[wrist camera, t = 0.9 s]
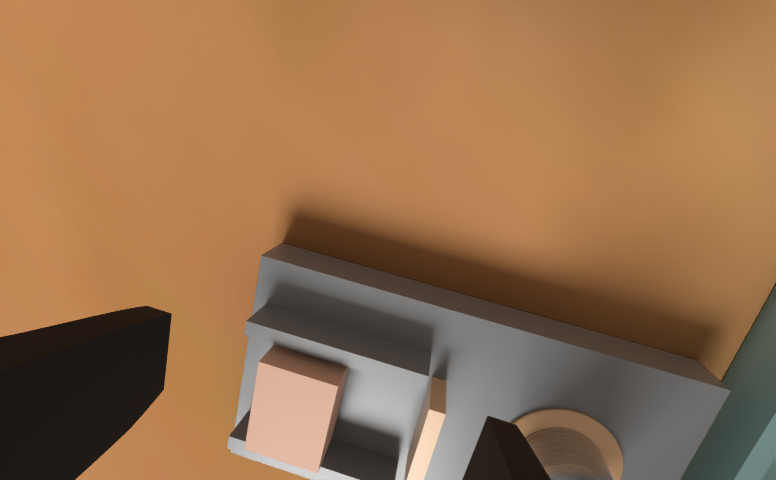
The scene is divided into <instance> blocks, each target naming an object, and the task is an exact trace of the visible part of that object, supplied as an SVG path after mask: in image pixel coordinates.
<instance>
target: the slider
mask: <svg viewBox="0 0 776 480" xmlns="http://www.w3.org/2000/svg"><path fill="white" fill-rule="evenodd" d="M348 370H349V367H347V366H344V365H340V364H337V363H334V362H331V361H327V360H324V359H321V358H318V357H314V356H311V355H308V354H305V353H301V352H298V351H295V350H292V349H288V348H285V347H282V346H279V345H275V344H274V345H273V346H272V347H271V348H270V349H269V351H268V352H267V353H266V354H265V355H264V356H263V358H262V359H261V360H260V361H259V364H258V370H257V376H256V382H255V388H254V394H253V400H252V406H251V412H250V418H249V424H248V430H247V436H246V442H245V448H244V449H245V450H248V451H251V452H254V453H257V454H260V455H263V456H266V457H269V458H272V459H275V460H278V461H281V462H284V463H287V464H290V465H293V466H296V467H299V468H302V469H305V470H308V471H311V472H314V473H317V474H318V471H319V469H320V466H321V464H322V461H323V459H324V456H325V454H326V451H327V449H328V446H329V444H330V441H331V439H332V436H333V432H334V428H335V424H336V420H337V416H338V412H339V408H340V403H341V399H342V395H343V391H344V387H345V383H346V379H347V375H348Z"/></svg>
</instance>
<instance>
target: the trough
mask: <svg viewBox="0 0 776 480" xmlns="http://www.w3.org/2000/svg"><path fill="white" fill-rule="evenodd" d="M722 383H723V384H724V385H726V386H727V387H728V388H729V389H730V390H731V392H730V393H729V395H728V397H727V399H726V400H725V402H724V404H723V406H722V407H721V409H720V411H719V413H718V414H717V416H716V418H715V420H714V421H713V423H712V425H711V427H710V428H709V430H708V432H707V434H706V435H705V437H704V439H703V441H702V442H701V444H700V446H699V447H698V449H697V451H696V453H695V454H694V456H693V458H692V460H691V461H690V463H689V465H688V467H687V468H686V470H685V472H684V474H683V475H682V477H681V479H680V480H776V285H775V287H774V289H773V290H772V292H771V294H770V296H769V298H768V299H767V301H766V303H765V305H764V307H763V308H762V310H761V312H760V314H759V315H758V317H757V319H756V321H755V323H754V324H753V326H752V328H751V330H750V332H749V333H748V335H747V337H746V339H745V340H744V342H743V344H742V346H741V348H740V349H739V351H738V353H737V355H736V357H735V358H734V360H733V362H732V364H731V366H730V367H729V369H728V371H727V373H726V374H725V376H724V378H723V380H722Z"/></svg>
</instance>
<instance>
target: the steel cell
mask: <svg viewBox="0 0 776 480" xmlns="http://www.w3.org/2000/svg"><path fill="white" fill-rule="evenodd" d="M525 439H526V440H527V442H528V443H529V445H530V447H531V448H532V450H533V451H534V453H535V455H536V456H537V458H538V459H539V461H540V463H541V464H542V466H543V467H544V469H545V471H546V472H547V474H548V475H549V477H550V479H551V480H614V479H613V477H612V475H611V472H610V470H609V468H608V466H607V464H606V462H605V460H604V458H603V456H602V453H601V451H600V449H599V448H598V446H597V445H596V444H595V443H594V442H593V441H592V440H591V439H590V438H589V437H587V436H586V435H584V434H582V433H580V432H578V431H575V430H573V429H569V428H562V427H550V428H544V429H541V430H537V431H535V432H533V433H531V434H529V435H528V436H527V437H525Z"/></svg>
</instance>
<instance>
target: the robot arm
mask: <svg viewBox="0 0 776 480" xmlns="http://www.w3.org/2000/svg"><path fill="white" fill-rule="evenodd" d="M171 315H172V314H171V313H168V312H165V311H161V310H158V309H155V308H152V307H149V306H143V307H136V308H130V309H125V310H120V311H115V312H111V313H106V314H102V315H97V316H93V317H88V318H84V319H80V320H75V321H71V322H67V323H62V324H58V325H54V326H49V327H45V328H41V329H36V330H32V331H28V332H23V333H19V334H14V335H9V336H4V337H0V480H75V479H76V478H77V477H78V476H80V475H81V474H82V473H83V472H84V471H85V470H86V469H87V468H88V467H89V466H91V465H92V464H93V463H94V462H95V461H96V460H97V459H98V458H99V457H100V456H101V455H102V454H104V453H105V452H106V451H107V450H108V449H109V448H110V447H111V446H112V445H113V444H114V443H115V442H117V441H118V440H119V439H120V438H121V437H122V436H123V435H124V434H125V433H126V432H127V431H128V430H129V429H130V428H131V427H132V426H133V425H134V424H135V422H136V421H137V420H138V419H139V418H140V417H141V416H142V415H143V413H144V412H145V411H146V410H147V409H148V408H149V406H150V405H151V404H152V403H153V402H154V401H155V399H156V398H157V397H158V396H159V395H160V393H161V392H162V391H163V390H164V382H165V372H166V363H167V353H168V343H169V334H170V324H171ZM462 480H551V479H550V477H549V475H548V474H547V472H546V471H545V469H544V467H543V466H542V464H541V463H540V461H539V459H538V458H537V456H536V455H535V453H534V451H533V450H532V448H531V447H530V445H529V443H528V442H527V440H526V439H525V437H524V435H523V434H522V432H521V431H520V429H519V428H518V426H517V425H516V424H512V423H509V422H506V421H503V420H500V419H497V418H494V417H491V416H487V418H486V421H485V423H484V426H483V428H482V431H481V434H480V436H479V439H478V441H477V444H476V446H475V449H474V451H473V454H472V456H471V459H470V461H469V464H468V467H467V469H466V472H465V474H464V477H463V479H462Z"/></svg>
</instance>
